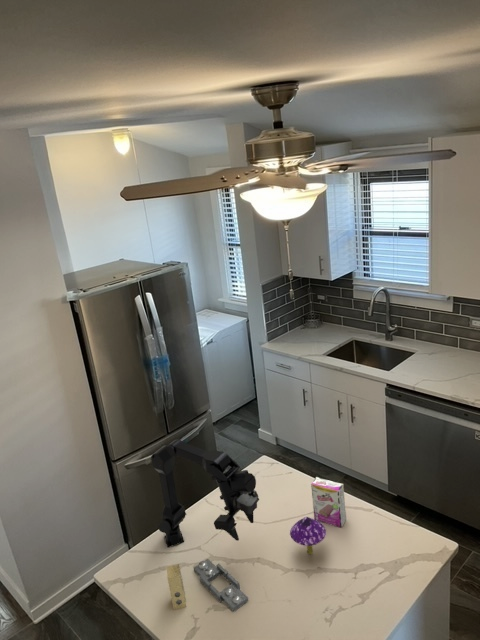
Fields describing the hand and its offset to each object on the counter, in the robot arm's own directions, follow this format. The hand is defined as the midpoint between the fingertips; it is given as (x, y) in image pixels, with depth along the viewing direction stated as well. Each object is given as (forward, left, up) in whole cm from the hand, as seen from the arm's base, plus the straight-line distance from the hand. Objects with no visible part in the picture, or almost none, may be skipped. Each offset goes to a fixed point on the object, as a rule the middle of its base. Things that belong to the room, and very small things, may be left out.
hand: (245, 531), depth 174 cm
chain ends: (+3, -12, -15) cm, 20 cm away
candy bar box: (-9, +35, -16) cm, 40 cm away
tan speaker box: (+4, -26, -15) cm, 30 cm away
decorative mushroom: (+3, +21, -16) cm, 27 cm away
